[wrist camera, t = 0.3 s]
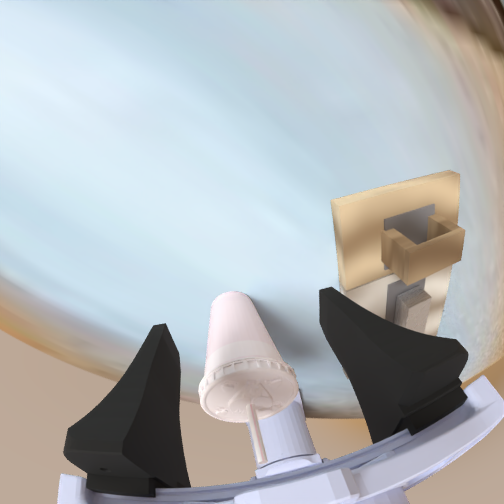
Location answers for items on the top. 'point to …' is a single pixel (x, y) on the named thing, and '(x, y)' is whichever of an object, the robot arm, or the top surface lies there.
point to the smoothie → (244, 368)
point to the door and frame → (399, 243)
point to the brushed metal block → (413, 309)
